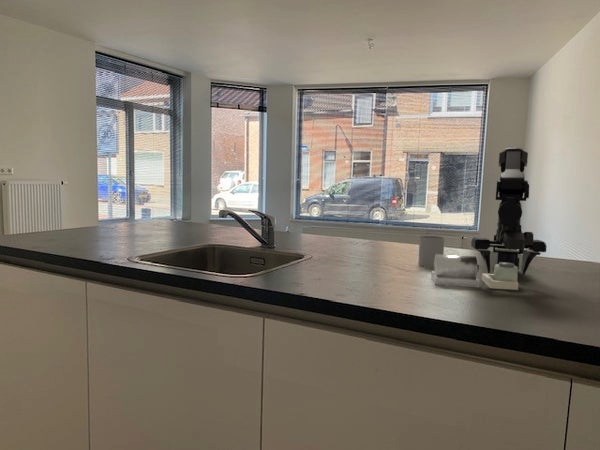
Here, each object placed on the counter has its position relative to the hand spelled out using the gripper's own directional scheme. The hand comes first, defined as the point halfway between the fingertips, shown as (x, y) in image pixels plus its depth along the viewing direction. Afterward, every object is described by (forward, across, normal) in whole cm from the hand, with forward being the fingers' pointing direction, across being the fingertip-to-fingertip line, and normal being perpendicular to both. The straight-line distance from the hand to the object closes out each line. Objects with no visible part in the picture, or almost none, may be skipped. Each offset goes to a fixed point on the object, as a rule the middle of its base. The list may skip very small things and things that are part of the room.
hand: (505, 274), depth 121 cm
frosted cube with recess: (+3, 0, 0) cm, 3 cm away
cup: (+4, -18, +26) cm, 32 cm away
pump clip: (+3, -2, 0) cm, 4 cm away
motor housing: (+3, -14, 0) cm, 14 cm away
